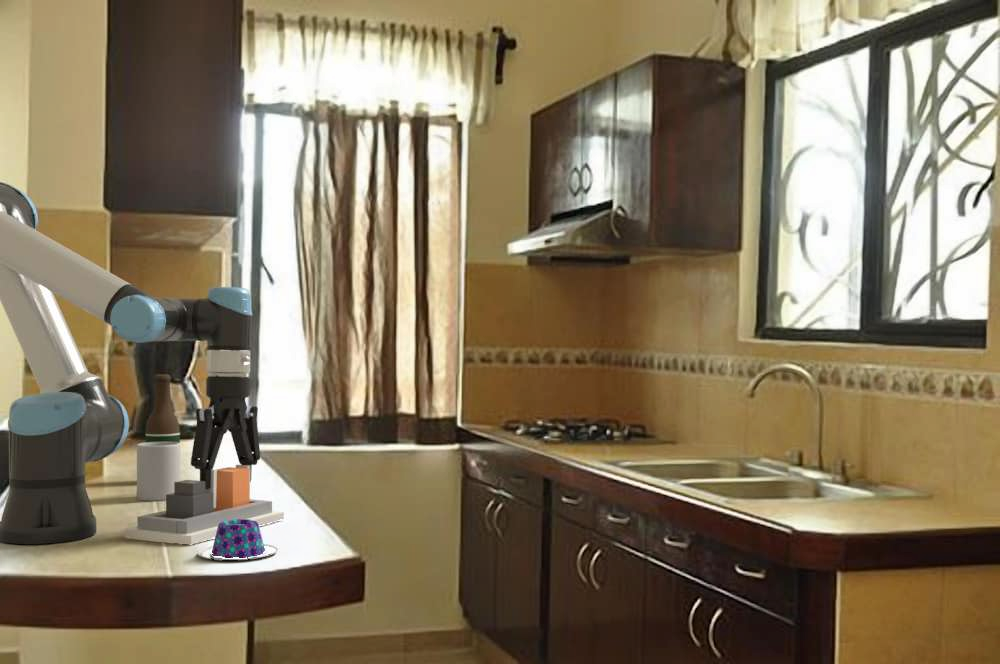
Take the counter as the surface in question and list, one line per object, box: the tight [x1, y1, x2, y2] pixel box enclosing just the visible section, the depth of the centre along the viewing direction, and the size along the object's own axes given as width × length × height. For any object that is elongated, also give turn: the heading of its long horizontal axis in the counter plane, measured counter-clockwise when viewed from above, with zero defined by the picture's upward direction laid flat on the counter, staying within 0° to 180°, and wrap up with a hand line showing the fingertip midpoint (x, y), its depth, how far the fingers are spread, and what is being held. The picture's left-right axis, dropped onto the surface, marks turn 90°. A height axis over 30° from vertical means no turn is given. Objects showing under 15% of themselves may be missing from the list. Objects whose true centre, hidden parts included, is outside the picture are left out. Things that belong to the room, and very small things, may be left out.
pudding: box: [197, 519, 279, 561], centre depth 165 cm, size 12×12×5 cm
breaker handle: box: [165, 479, 214, 519], centre depth 181 cm, size 5×6×7 cm
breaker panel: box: [124, 498, 285, 545], centre depth 185 cm, size 24×14×4 cm, turn 155°
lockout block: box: [214, 467, 249, 512], centre depth 191 cm, size 5×5×8 cm
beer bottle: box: [145, 373, 181, 444], centre depth 241 cm, size 8×8×24 cm
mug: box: [136, 442, 181, 502], centre depth 221 cm, size 12×8×11 cm
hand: (225, 504), depth 190 cm, fingers open, 8 cm apart
